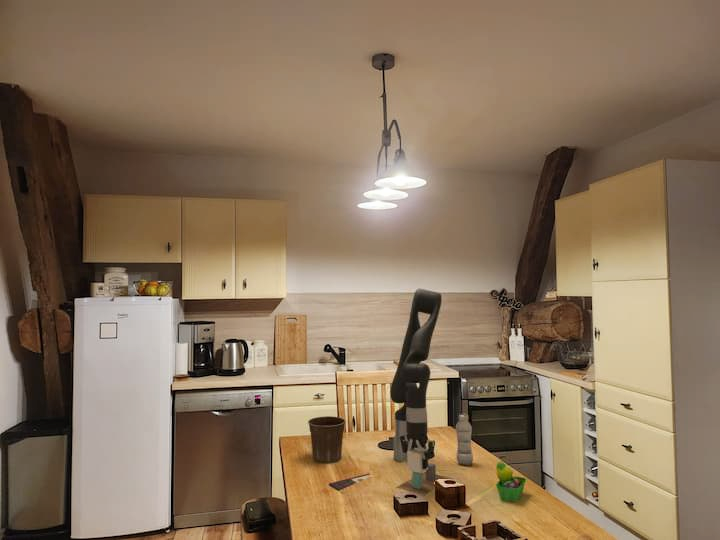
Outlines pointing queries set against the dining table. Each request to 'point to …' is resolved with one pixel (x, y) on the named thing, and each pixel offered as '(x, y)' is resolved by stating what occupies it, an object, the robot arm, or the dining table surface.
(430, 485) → the stand board
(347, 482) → the chocolate bar
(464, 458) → the plastic bottle
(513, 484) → the fruit basket
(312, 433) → the plant pot
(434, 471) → the charcoal post
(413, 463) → the cream block
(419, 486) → the teal post
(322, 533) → the dining table surface
